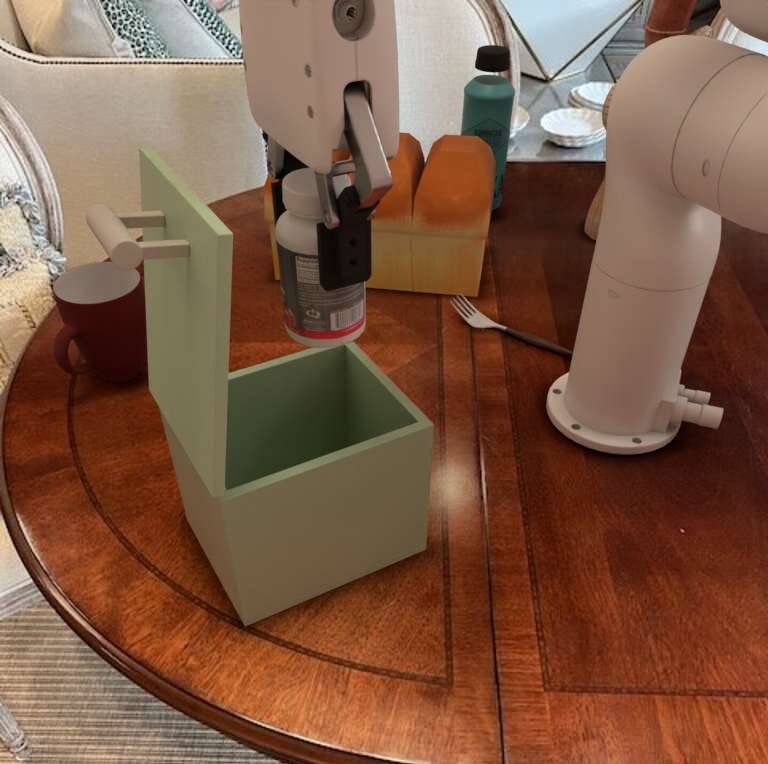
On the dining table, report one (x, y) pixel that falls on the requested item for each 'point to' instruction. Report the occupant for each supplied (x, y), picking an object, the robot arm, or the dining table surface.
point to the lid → (180, 306)
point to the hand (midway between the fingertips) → (322, 259)
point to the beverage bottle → (490, 109)
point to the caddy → (310, 479)
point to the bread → (427, 217)
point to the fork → (505, 328)
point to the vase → (662, 23)
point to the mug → (102, 320)
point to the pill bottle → (312, 270)
